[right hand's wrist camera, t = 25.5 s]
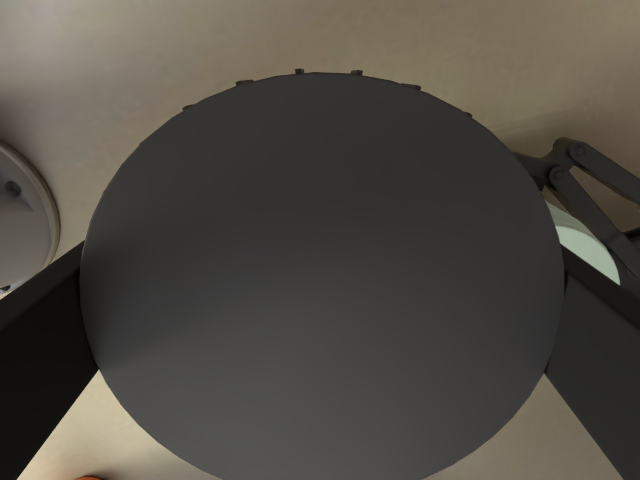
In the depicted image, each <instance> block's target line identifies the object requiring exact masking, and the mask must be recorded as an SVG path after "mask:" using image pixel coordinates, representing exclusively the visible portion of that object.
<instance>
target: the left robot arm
mask: <svg viewBox="0 0 640 480" xmlns="http://www.w3.org/2000/svg"><path fill="white" fill-rule="evenodd" d="M511 152H512V151H511ZM512 153H513V154H514V155H515V156H516V157H517V159H518V160H519V161H520V163H521V164H522V165H523V167H524V168H525V169H526V170H527V172H528V173H529V174H530V176H531V177H532V178H533V180H534V181H535V183H536V185H537V187H538V189H539V191H542V190H543V188H544V186H545V185H546V187H547V188H548V189H549V190H550V191H551V192H552V193H553V194H554V196H555V197H556V198H557V199H558V200H559V201H560V202H561V204H562V205H563V206H564V207H565V208H566V209H567V210H568V212H569V213H570V214H571V215H572V216H573V217H574V218H576V219H577V220H579V221H580V222H581V223H582V224H583V225H585V226H586V227H587V228H588V230H589V231H590V232H591V233H592V234H593V235H594V236H595V237H596V238H597V239H598V240H599V241H600V242H601V243H602V244H603V245H604V246H605V247H606V248H607V251H608V252H609V254H610V255H611V257H612V259H613V260H614V263H615V265H616V268H617V270H618V275H619V279H620V286H621V287H623V288H624V289H625V290H627V291H628V292H630V293H631V294H632V295H634V296H635V297H637V298H638V299H640V227H639V228H636V229H633V230H630V231H627V232H624V233H622V232H621V231H619V230H618V229H617V228H616V227H615V225H614V224H613V223H612V222H611V221H610V220H609V218H608V217H607V216H606V215H605V214H604V213H603V211H602V210H601V209H600V208H599V207H598V206H597V204H596V203H595V202H594V201H593V200H592V198H591V197H590V196H589V195H588V194H587V193H586V191H585V190H584V189H583V188H582V187H581V186H580V184H579V183H578V182H577V181H576V180H575V179H574V177H573V176H572V175H571V174H570V173H569V171H568V170H569V169H570V168H571V167H572V166H573V165H575V166H576V167H578V168H579V169H581V170H582V171H584V172H585V173H587V174H589V175H590V176H592V177H593V178H595V179H596V180H598V181H599V182H601V183H602V184H604V185H605V186H607V187H608V188H610V189H611V190H613V191H615V192H616V193H618V194H619V195H621V196H622V197H624V198H626V199H627V200H630V201H632V202H634V203H637V204H638V205H637V207H636V208H637V210H639V214H640V179H639V178H637V177H636V176H634V175H633V174H631V173H630V172H628V171H627V170H625V169H624V168H622V167H621V166H619V165H618V164H616V163H615V162H613V161H612V160H610V159H609V158H607V157H606V156H604V155H603V154H601V153H600V152H598V151H597V150H595V149H594V148H592V147H591V146H590V145H588V144H587V143H584V142H581V141H577V140H573V139H569V138H565V137H561V138H559V139H557V140H556V141H555V142H554V144H553V149H552V150H551V152H550V153H549V154H548V155H546V156H545V157H542V158H535V157H531V156H528V155H524V154H520V153H516V152H512Z"/></svg>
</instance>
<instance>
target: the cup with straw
mask: <svg viewBox="0 0 640 480" xmlns="http://www.w3.org/2000/svg"><path fill="white" fill-rule="evenodd" d="M76 480H100V479H97V478H92V477H83V478H79V479H76Z"/></svg>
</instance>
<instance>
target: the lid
mask: <svg viewBox="0 0 640 480" xmlns="http://www.w3.org/2000/svg"><path fill="white" fill-rule="evenodd" d="M295 72H296V74H291V75H281V76H274V77H270V78H266V79H262V80H257V81H253V80H244V81H238V82H235V83H236V86H235V87H233V88H230V89H228V90H225V91H223V92H220V93H218V94H215V95H213V96H210V97H208V98H205V99H203V100H201V101H200V102H198V103H196V104H192V105H188V106H185V107H184V108H182V109H183V112H181V113H179V114H177V115H176V116H174V117H172V118H171V119H170V120H169V121H167V122H166V123H165V124H164V125H162V126H161V127H160V128H159V129H157V130H156V131H155V132H154V133H152V134H151V135H150V136H149V137H147V138H146V139H145V140H144V141H142V142H141V143H140V144H139V146H138V148H137V149H136V150H135V151H134V152H133V153H132V154H131V155H130V156H129V157H128V158H127V160H126V161H125V162H124V163H123V164H122V165H121V167H120V168H119V170H118V171H117V173H116V174H115V176H114V177H113V179H112V180H111V182H110V183H109V185H108V186H107V188H106V189H105V191H104V192H103V195H102V197H101V199H100V201H99V203H98V205H97V208H96V210H95V212H94V214H93V216H92V219H91V221H90V225H89V228H88V232H87V236H86V239H85V243H84V246H83V251H82V259H81V268H80V276H79V285H80V308H81V313H82V318H83V324H84V329H85V334H86V337H87V340H88V343H89V346H90V349H91V351H92V354H93V357H94V360H95V362H96V364H97V366H98V368H99V370H100V372H101V374H102V376H103V378H104V380H105V382H106V384H107V385H108V386H109V388H110V389H111V391H112V392H113V394H114V395H115V397H116V398H117V400H118V401H119V403H120V404H121V405H122V407H123V408H124V409H125V410H126V411H127V412H128V413H129V415H130V416H131V417H132V418H133V419H134V420H135V421H136V423H137V424H138V425H139V426H140V427H142V428H143V429H144V430H145V431H146V432H147V433H148V434H149V435H150V436H152V437H153V438H154V439H155V440H156V441H157V442H158V443H160V444H161V445H163V446H164V447H165V448H167V449H168V450H169V451H171V452H172V453H174V454H175V455H176V456H178V457H179V458H181V459H183V460H185V461H186V462H188V463H190V464H192V465H194V466H195V467H197V468H199V469H201V470H203V471H205V472H207V473H209V474H212V475H214V476H216V477H219V478H221V479H223V480H420V479H423V478H426V477H428V476H430V475H432V474H434V473H437V472H439V471H441V470H443V469H445V468H447V467H449V466H451V465H453V464H454V463H456V462H457V461H459V460H461V459H462V458H464V457H466V456H467V455H469V454H470V453H472V452H474V451H475V450H476V449H477V448H479V447H480V446H481V445H483V444H484V443H485V442H486V441H488V440H489V439H490V438H492V437H493V436H494V435H495V434H496V433H497V432H498V431H499V430H500V429H501V428H502V427H503V426H504V425H505V424H506V423H507V422H508V421H509V420H510V419H511V418H512V417H513V416H514V415H515V414H516V412H517V411H518V410H519V409H520V407H521V406H522V405H523V404H524V402H525V401H526V400H527V399H528V397H529V396H530V394H531V393H532V391H533V390H534V388H535V386H536V385H537V383H538V381H539V380H540V378H541V376H542V375H543V373H544V371H545V368H546V366H547V364H548V362H549V359H550V357H551V353H552V350H553V345H554V341H555V337H556V333H557V328H558V324H559V320H560V316H561V311H562V307H563V302H564V297H565V273H564V262H563V256H562V251H561V245H560V240H559V236H558V233H557V230H556V227H555V224H554V221H553V218H552V215H551V213H550V210H549V207H548V206H547V204H546V202H545V200H544V198H543V196H542V194H541V192H540V191H539V189H538V187H537V185H536V183H535V181H534V180H533V178H532V177H531V176H530V174H529V173H528V172H527V170H526V169H525V168H524V167H523V165H522V164H521V163H520V161H519V160H518V159H517V157H516V156H515V155H514V154H513V153H512V152H511V151H510V150H509V149H508V148H507V147H506V146H505V145H504V144H503V143H502V142H501V141H500V140H499V139H498V138H497V137H496V136H495V135H494V134H493V133H492V132H491V131H490V130H488V129H487V128H485V127H484V126H483V125H481V124H480V123H478V122H477V121H476V120H474V119H473V118H471V117H472V115H471V114H470V113H467V112H464V111H462V110H460V109H458V108H456V107H454V106H452V105H450V104H448V103H446V102H444V101H442V100H440V99H438V98H436V97H434V96H432V95H431V94H429V93H426V92H423V91H420V90H421V87H420V86H418V85H411V84H403V83H401V84H399V83H396V82H394V81H390V80H384V79H379V78H374V77H368V76H363V75H362V72H363V71H361V70H353V71H351V74H347V73H323V72H311V73H304V69H295Z"/></svg>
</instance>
